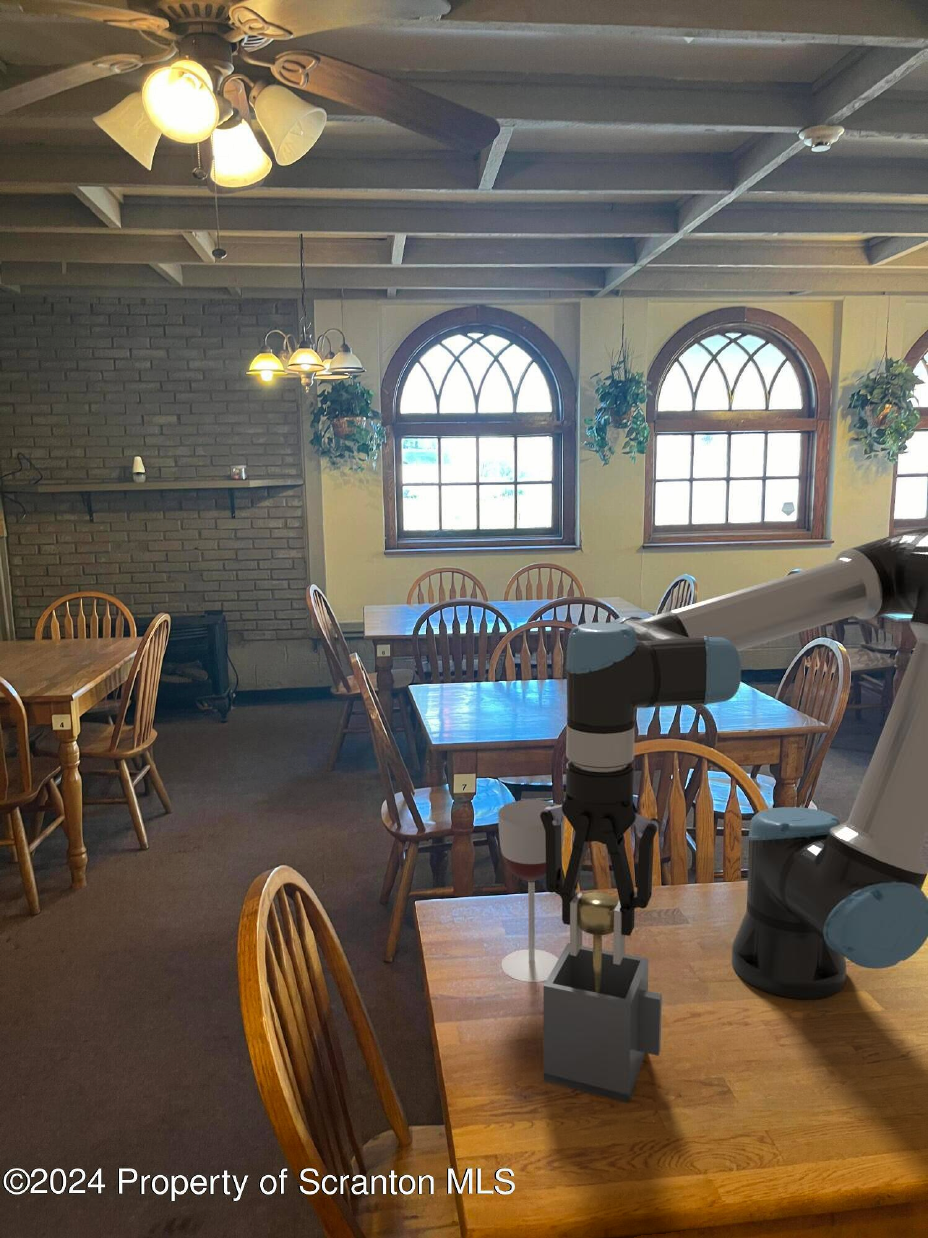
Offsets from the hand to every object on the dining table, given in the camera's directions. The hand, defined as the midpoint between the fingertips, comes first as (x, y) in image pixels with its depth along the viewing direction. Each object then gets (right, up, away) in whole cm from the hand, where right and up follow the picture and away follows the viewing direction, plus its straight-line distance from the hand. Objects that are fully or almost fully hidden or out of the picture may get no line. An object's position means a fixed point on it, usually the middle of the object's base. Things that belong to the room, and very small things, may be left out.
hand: (597, 953), depth 103 cm
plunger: (0, -12, +2) cm, 12 cm away
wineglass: (-6, -11, +24) cm, 27 cm away
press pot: (+1, -14, +2) cm, 14 cm away
